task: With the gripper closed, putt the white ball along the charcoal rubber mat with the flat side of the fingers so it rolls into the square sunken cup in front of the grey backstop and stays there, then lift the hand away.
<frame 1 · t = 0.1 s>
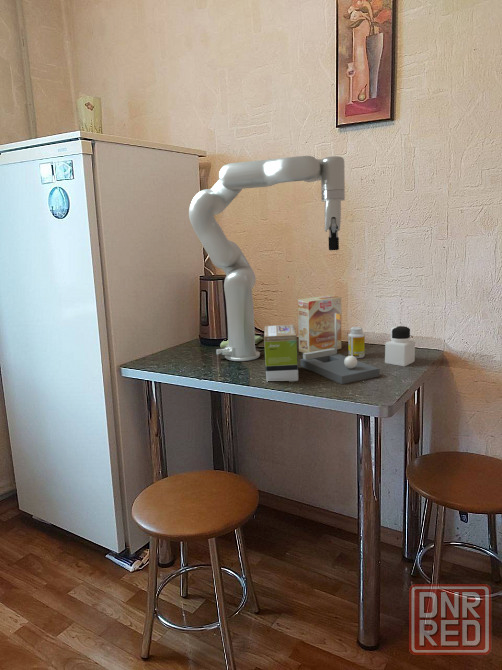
hand: (333, 249, 176), 37 cm above the table, tool pointing down, fingers open, 9 cm apart
medicine bottle: (399, 363, 173), on the table
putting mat: (338, 370, 167), on the table
tea box: (281, 375, 166), on the table
coffeecake box: (320, 350, 194), on the table
supplement bottle: (356, 357, 183), on the table
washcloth: (241, 345, 208), on the table
ball: (350, 362, 160), point 4 cm above the table, touching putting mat
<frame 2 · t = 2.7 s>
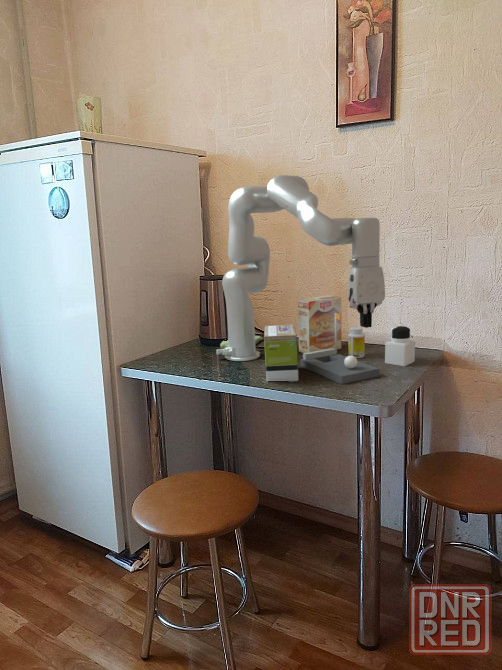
hand: (365, 326, 151), 17 cm above the table, tool pointing down, fingers closed
nothing on the table moved.
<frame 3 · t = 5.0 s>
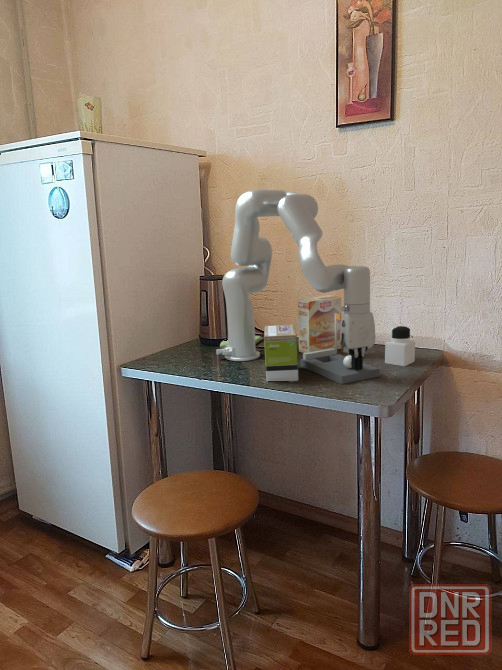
hand: (357, 368, 158), 3 cm above the table, tool pointing down, fingers closed
ball: (349, 361, 161), point 4 cm above the table, tilted 11°, touching gripper, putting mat
everything else where it was.
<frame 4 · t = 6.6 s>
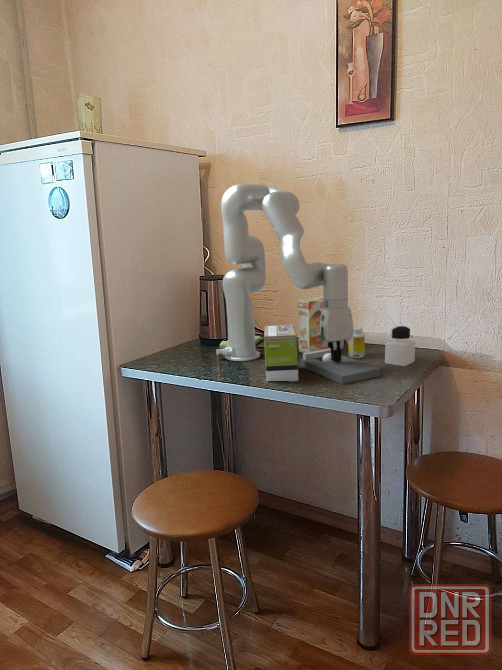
hand: (336, 360, 167), 3 cm above the table, tool pointing down, fingers closed
ball: (328, 359, 172), point 3 cm above the table, tilted 135°
everything else where it was.
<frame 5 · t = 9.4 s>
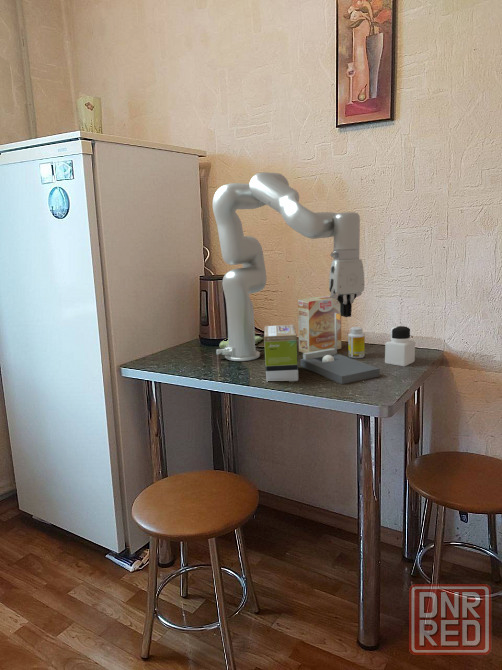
hand: (345, 316, 159), 18 cm above the table, tool pointing down, fingers closed
ball: (328, 360, 172), point 2 cm above the table, tilted 123°
everything else where it was.
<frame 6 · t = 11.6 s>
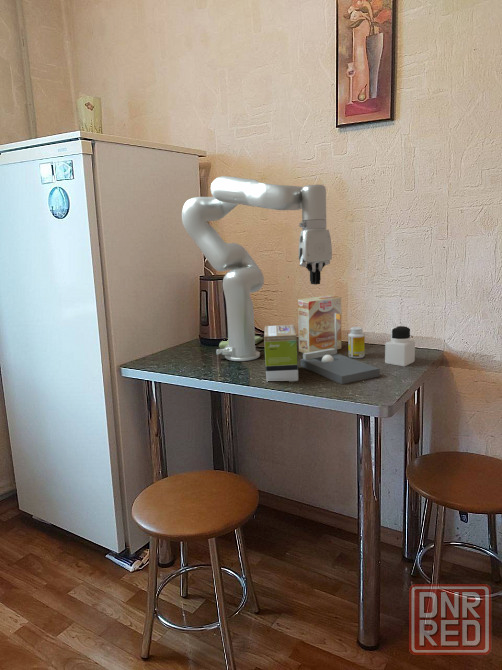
hand: (315, 283, 169), 27 cm above the table, tool pointing down, fingers closed
ball: (327, 360, 172), point 2 cm above the table, tilted 114°
everything else where it was.
at the end: ball 0.5 cm from the target spot on the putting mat, point 2.0 cm above the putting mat's base; ball point 2.0 cm above the table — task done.
